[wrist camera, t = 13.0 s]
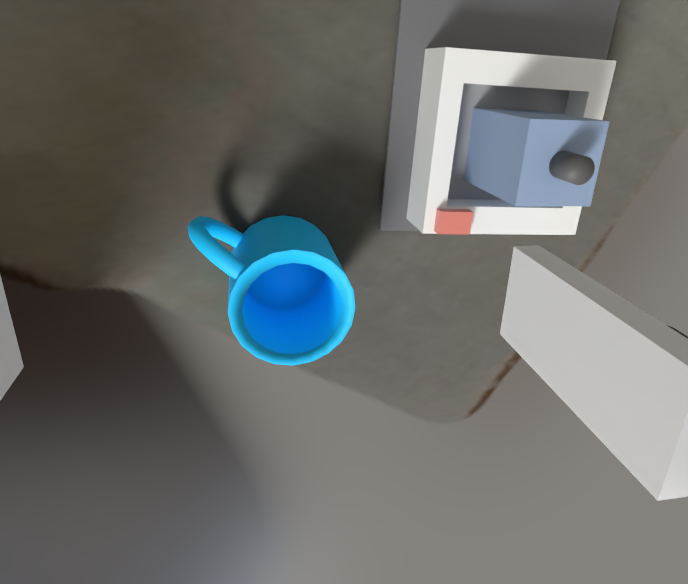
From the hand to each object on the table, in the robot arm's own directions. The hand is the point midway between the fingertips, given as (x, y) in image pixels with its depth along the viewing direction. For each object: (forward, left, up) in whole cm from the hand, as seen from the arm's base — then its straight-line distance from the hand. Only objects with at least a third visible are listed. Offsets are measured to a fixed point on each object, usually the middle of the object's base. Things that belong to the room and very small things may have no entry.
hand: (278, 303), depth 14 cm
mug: (+8, +1, -26) cm, 27 cm away
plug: (-1, +18, -24) cm, 30 cm away
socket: (-3, +18, -26) cm, 32 cm away
